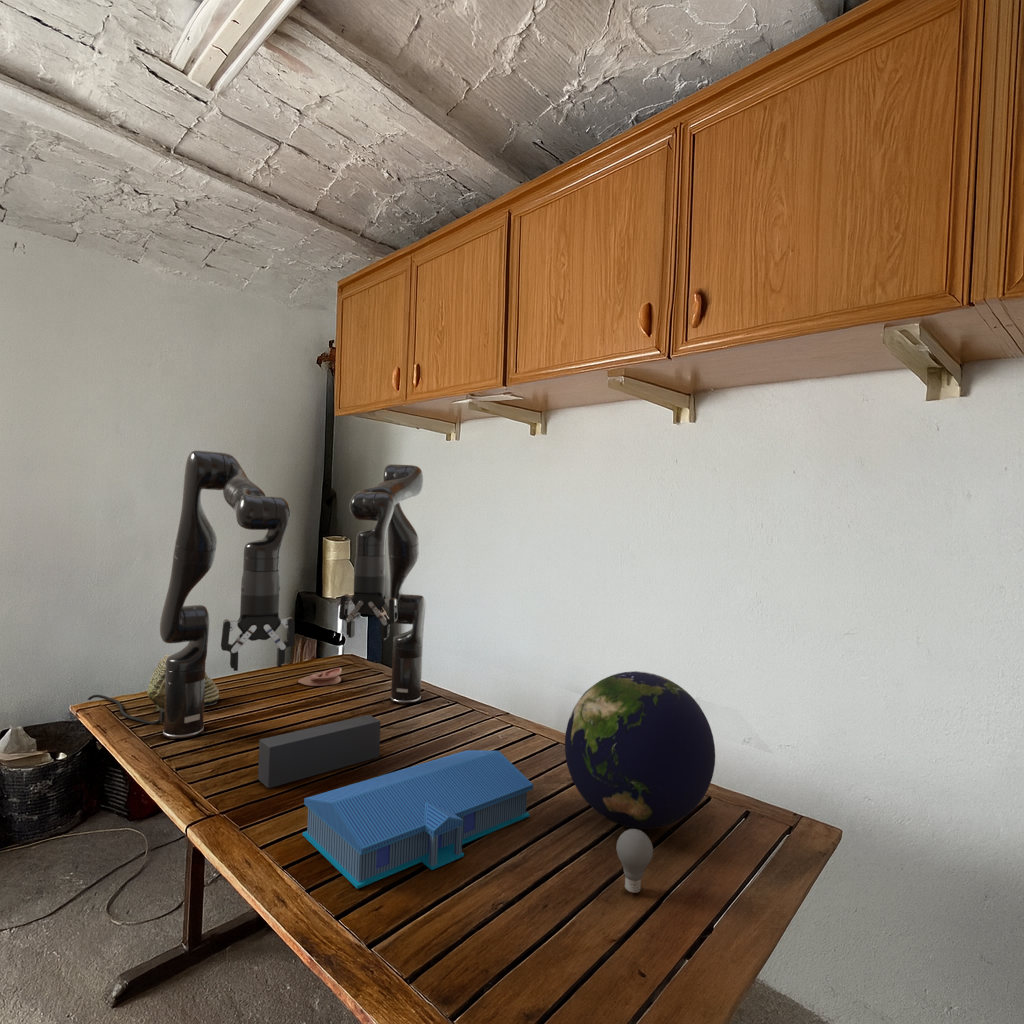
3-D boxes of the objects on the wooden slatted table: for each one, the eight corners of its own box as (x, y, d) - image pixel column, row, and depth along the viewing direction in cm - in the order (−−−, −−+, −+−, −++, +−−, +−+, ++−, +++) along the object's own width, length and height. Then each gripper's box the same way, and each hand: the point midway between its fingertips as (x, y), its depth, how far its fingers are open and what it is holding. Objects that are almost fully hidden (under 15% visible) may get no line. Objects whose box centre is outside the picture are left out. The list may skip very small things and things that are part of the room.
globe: (541, 837, 121) (548, 681, 121) (583, 776, 149) (589, 649, 148) (703, 878, 110) (712, 707, 109) (717, 804, 138) (723, 667, 137)
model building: (367, 898, 100) (369, 836, 100) (301, 833, 119) (303, 781, 118) (541, 822, 127) (543, 772, 127) (465, 778, 145) (467, 735, 145)
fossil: (144, 707, 182) (145, 655, 182) (212, 696, 194) (213, 647, 194) (151, 716, 175) (153, 662, 175) (221, 703, 188) (223, 653, 188)
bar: (268, 788, 136) (269, 747, 136) (257, 779, 140) (259, 739, 140) (379, 757, 155) (380, 720, 155) (367, 749, 159) (368, 714, 159)
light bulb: (610, 879, 108) (613, 822, 108) (644, 879, 109) (647, 822, 109) (619, 902, 102) (622, 840, 102) (655, 901, 103) (658, 840, 103)
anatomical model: (293, 672, 210) (311, 663, 221) (292, 684, 210) (310, 675, 221) (330, 676, 207) (346, 667, 219) (329, 688, 208) (345, 678, 219)
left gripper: (293, 587, 139) (290, 661, 140) (222, 589, 133) (219, 666, 133) (298, 593, 133) (295, 670, 133) (224, 595, 126) (221, 676, 126)
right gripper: (402, 573, 158) (400, 637, 159) (348, 569, 161) (346, 632, 161) (392, 576, 151) (389, 644, 151) (336, 573, 153) (333, 639, 154)
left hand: (257, 668), depth 133 cm, fingers open, 8 cm apart
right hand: (367, 638), depth 156 cm, fingers open, 8 cm apart
